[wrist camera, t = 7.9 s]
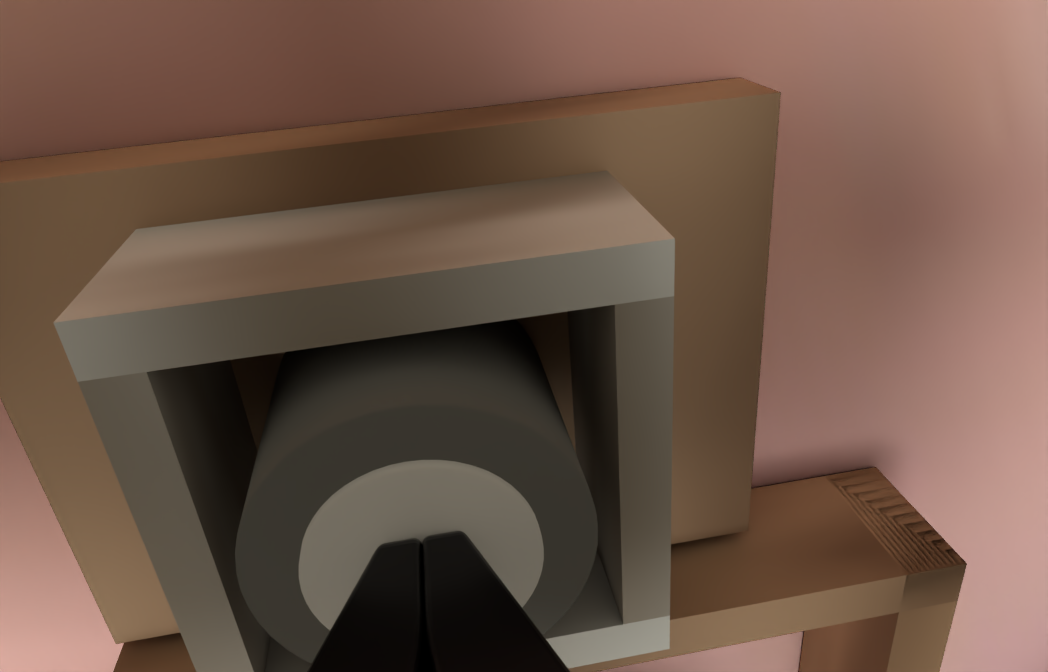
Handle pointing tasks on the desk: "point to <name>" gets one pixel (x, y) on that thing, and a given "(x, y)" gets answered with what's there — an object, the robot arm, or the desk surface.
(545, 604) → the cylinder
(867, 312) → the desk surface
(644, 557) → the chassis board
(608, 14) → the desk surface
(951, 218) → the desk surface
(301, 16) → the desk surface
